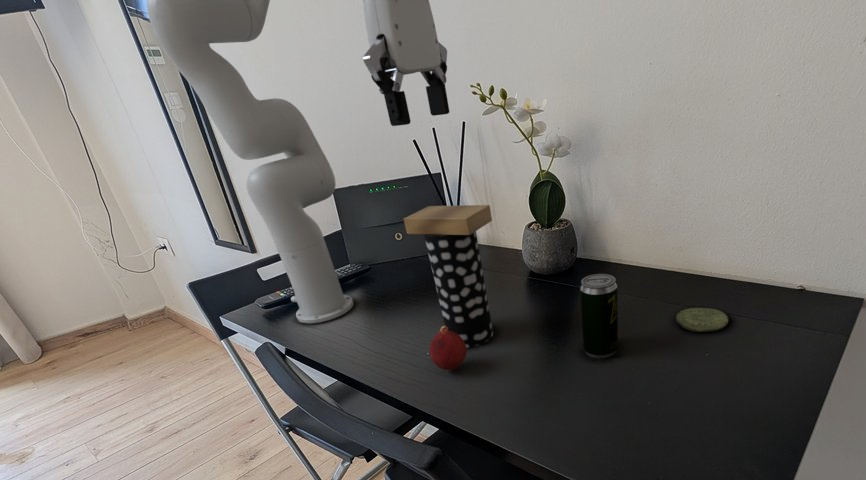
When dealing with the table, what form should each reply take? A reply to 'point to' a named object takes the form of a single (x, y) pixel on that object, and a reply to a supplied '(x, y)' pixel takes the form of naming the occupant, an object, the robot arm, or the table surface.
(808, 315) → the table surface
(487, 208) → the flat wooden block
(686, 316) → the medallion
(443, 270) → the spotted tube
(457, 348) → the red pomegranate
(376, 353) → the table surface
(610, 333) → the beer can
